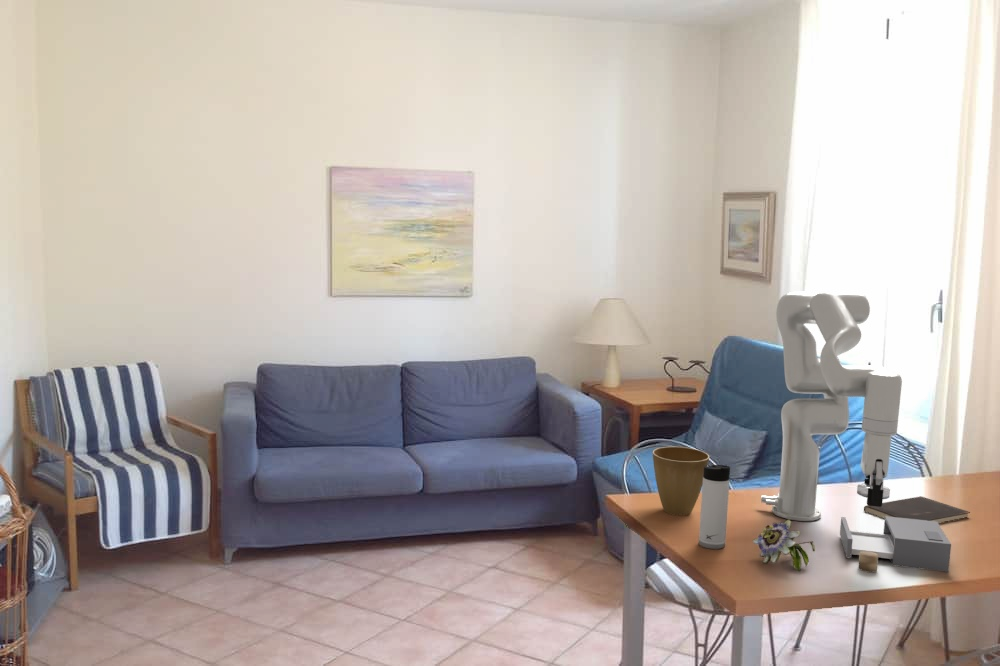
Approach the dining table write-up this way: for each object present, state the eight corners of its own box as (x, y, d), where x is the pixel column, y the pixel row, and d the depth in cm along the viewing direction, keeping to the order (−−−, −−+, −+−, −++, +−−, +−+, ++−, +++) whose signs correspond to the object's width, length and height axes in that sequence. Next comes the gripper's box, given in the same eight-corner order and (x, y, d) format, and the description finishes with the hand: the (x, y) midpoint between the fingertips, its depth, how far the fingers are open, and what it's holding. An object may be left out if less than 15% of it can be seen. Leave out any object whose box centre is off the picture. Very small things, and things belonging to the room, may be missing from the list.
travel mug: (711, 551, 229) (716, 469, 226) (693, 542, 235) (698, 462, 232) (731, 547, 232) (737, 466, 229) (713, 539, 237) (718, 460, 235)
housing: (892, 565, 224) (895, 537, 223) (882, 541, 240) (885, 515, 239) (948, 571, 221) (951, 543, 220) (934, 547, 237) (937, 520, 236)
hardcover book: (969, 520, 262) (970, 511, 262) (913, 531, 251) (913, 522, 251) (918, 503, 276) (919, 495, 276) (863, 513, 265) (863, 505, 265)
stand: (859, 570, 219) (860, 556, 219) (857, 564, 223) (858, 550, 223) (877, 573, 218) (879, 558, 218) (875, 566, 222) (877, 552, 222)
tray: (846, 557, 226) (848, 538, 226) (839, 534, 242) (841, 516, 242) (902, 563, 223) (903, 544, 223) (891, 540, 240) (893, 522, 239)
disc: (858, 497, 219) (859, 490, 219) (855, 488, 226) (856, 481, 226) (891, 500, 218) (891, 493, 217) (887, 491, 224) (888, 485, 224)
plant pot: (640, 504, 264) (643, 447, 262) (689, 501, 268) (693, 445, 266) (664, 521, 249) (667, 461, 247) (715, 518, 254) (719, 459, 252)
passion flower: (765, 585, 223) (740, 537, 227) (798, 569, 228) (773, 522, 232) (794, 573, 214) (768, 523, 217) (828, 557, 219) (802, 508, 223)
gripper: (858, 415, 229) (851, 488, 231) (866, 432, 212) (858, 510, 215) (892, 419, 227) (885, 492, 230) (902, 436, 210) (894, 514, 213)
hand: (872, 500), depth 222 cm, fingers closed on disc, 6 cm apart
